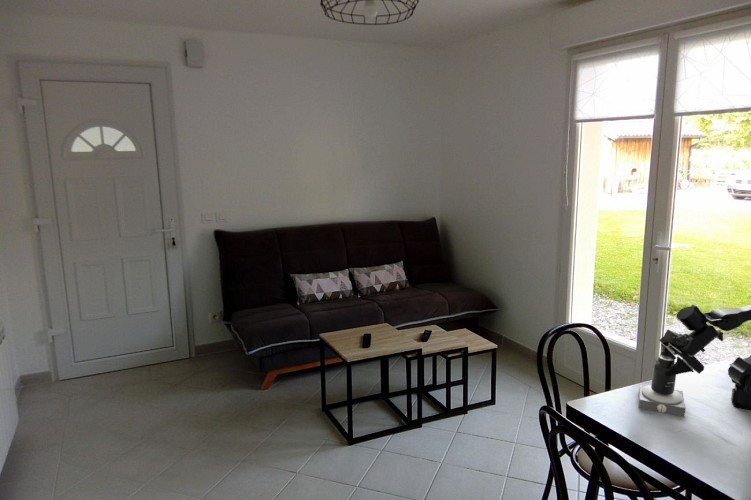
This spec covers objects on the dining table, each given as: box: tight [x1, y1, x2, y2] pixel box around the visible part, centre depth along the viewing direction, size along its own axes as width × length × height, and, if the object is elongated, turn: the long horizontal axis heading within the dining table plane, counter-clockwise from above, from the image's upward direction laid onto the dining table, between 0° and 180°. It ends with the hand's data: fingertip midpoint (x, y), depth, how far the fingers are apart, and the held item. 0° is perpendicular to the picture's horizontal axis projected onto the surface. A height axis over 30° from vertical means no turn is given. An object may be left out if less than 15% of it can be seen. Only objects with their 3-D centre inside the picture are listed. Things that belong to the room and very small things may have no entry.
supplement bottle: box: [650, 354, 677, 395], centre depth 173 cm, size 7×7×12 cm
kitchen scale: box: [638, 383, 686, 418], centre depth 174 cm, size 13×14×4 cm
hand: (660, 370), depth 173 cm, fingers closed on supplement bottle, 7 cm apart
